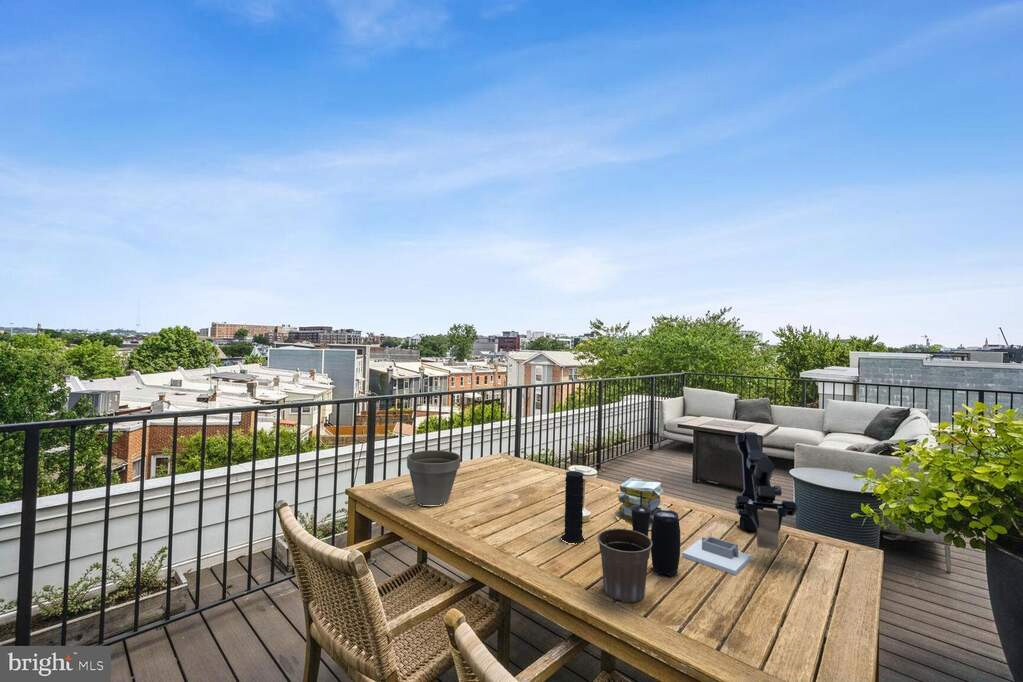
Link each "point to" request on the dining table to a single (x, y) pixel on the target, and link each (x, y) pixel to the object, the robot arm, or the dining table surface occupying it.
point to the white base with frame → (717, 554)
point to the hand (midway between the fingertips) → (768, 529)
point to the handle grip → (573, 507)
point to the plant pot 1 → (433, 475)
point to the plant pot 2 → (624, 563)
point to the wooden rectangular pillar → (768, 529)
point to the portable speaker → (665, 542)
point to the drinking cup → (640, 517)
